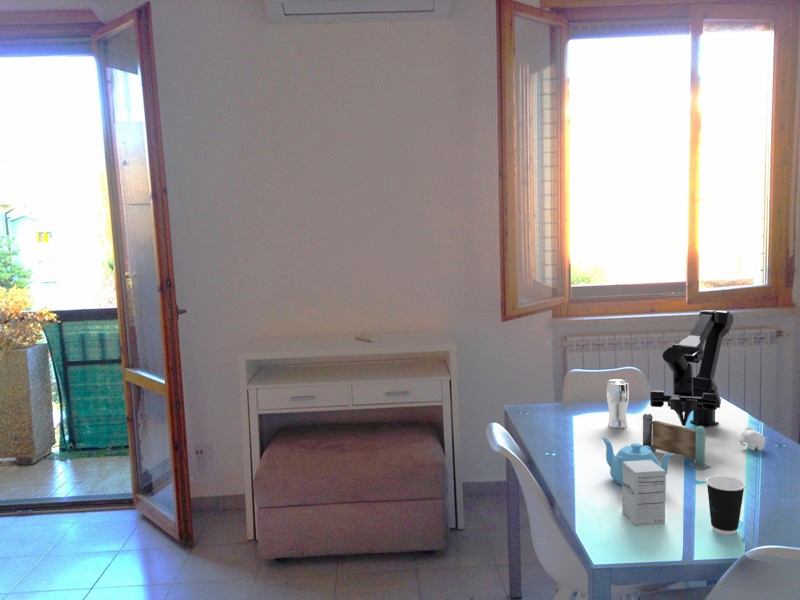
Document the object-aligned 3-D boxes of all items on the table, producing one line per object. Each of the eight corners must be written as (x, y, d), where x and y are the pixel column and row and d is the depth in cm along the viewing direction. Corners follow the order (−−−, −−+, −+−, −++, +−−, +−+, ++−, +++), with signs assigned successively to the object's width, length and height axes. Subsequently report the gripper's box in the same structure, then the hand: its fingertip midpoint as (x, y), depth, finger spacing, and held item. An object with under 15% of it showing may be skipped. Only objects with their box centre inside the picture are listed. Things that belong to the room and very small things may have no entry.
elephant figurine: (735, 444, 206) (735, 425, 205) (764, 445, 204) (764, 426, 204) (741, 452, 199) (742, 432, 199) (771, 453, 198) (772, 433, 197)
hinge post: (647, 445, 208) (647, 410, 207) (660, 450, 203) (660, 414, 202) (634, 448, 206) (635, 412, 205) (647, 453, 201) (647, 416, 200)
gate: (651, 448, 202) (651, 420, 201) (655, 447, 204) (655, 418, 202) (701, 462, 190) (702, 431, 189) (705, 460, 191) (706, 430, 190)
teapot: (655, 471, 187) (655, 435, 186) (675, 493, 172) (676, 453, 171) (601, 472, 188) (601, 436, 186) (617, 494, 173) (617, 454, 172)
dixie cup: (696, 527, 153) (697, 480, 152) (720, 519, 157) (721, 473, 155) (728, 541, 146) (729, 492, 145) (752, 532, 150) (753, 484, 149)
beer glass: (626, 422, 231) (626, 379, 229) (630, 429, 224) (631, 384, 222) (604, 422, 232) (604, 379, 230) (609, 429, 225) (609, 384, 223)
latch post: (699, 462, 192) (700, 423, 191) (711, 467, 189) (711, 427, 187) (688, 465, 191) (689, 425, 189) (700, 469, 187) (701, 429, 186)
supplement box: (621, 512, 162) (621, 460, 161) (651, 510, 163) (652, 458, 161) (634, 526, 155) (634, 472, 153) (666, 523, 155) (666, 470, 154)
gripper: (714, 394, 214) (716, 440, 205) (650, 391, 220) (650, 435, 211) (716, 375, 205) (719, 422, 197) (650, 373, 212) (650, 418, 203)
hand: (683, 425), depth 202 cm, fingers closed
